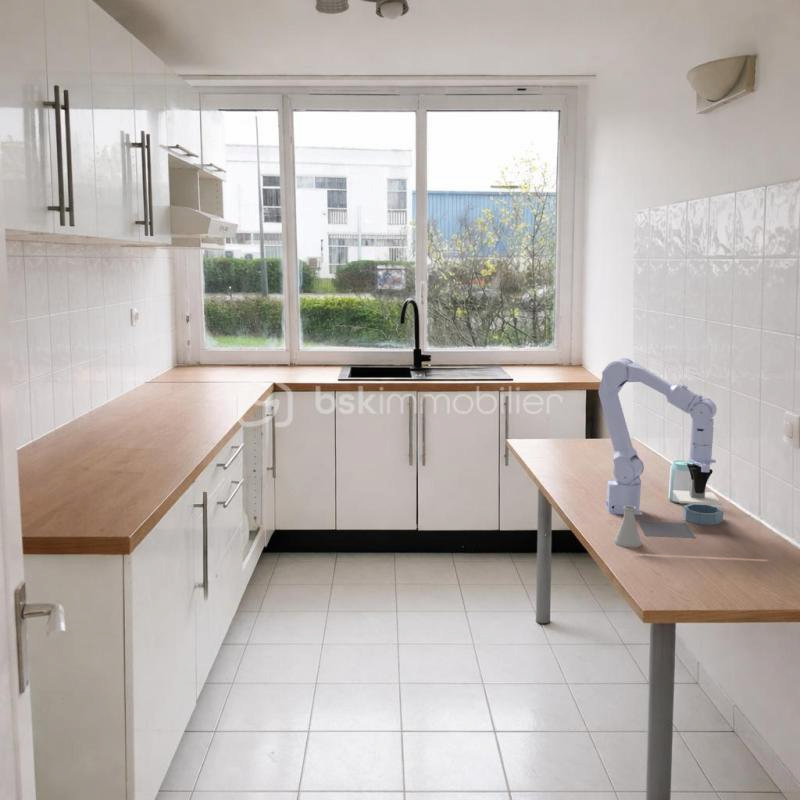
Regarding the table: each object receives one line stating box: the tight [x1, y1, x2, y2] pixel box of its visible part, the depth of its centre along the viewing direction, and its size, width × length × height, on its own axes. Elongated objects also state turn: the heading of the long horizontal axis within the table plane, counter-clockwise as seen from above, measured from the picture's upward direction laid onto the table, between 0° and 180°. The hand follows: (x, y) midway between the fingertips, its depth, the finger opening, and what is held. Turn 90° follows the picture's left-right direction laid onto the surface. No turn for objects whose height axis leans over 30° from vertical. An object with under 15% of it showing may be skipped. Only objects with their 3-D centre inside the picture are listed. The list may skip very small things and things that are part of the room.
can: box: [668, 459, 693, 505], centre depth 269 cm, size 7×7×12 cm
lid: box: [673, 479, 723, 506], centre depth 247 cm, size 11×11×5 cm
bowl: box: [682, 503, 724, 526], centre depth 250 cm, size 10×10×4 cm
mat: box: [637, 520, 697, 539], centre depth 240 cm, size 13×13×1 cm
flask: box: [613, 506, 643, 548], centre depth 228 cm, size 7×7×10 cm
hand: (698, 491), depth 247 cm, fingers closed on lid, 2 cm apart
